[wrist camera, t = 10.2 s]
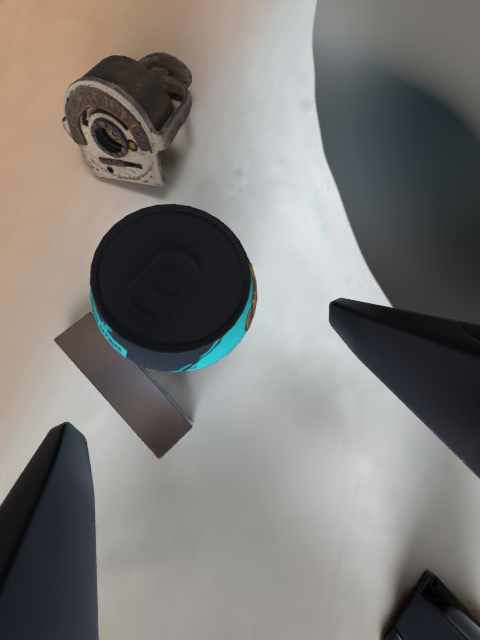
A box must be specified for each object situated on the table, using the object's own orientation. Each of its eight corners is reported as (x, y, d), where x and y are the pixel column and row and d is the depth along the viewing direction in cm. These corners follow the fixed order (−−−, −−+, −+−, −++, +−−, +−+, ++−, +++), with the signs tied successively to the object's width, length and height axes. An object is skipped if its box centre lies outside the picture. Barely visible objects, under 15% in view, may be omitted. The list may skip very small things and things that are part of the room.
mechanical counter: (-9, 73, 17) (100, 139, 15) (122, -46, 19) (235, -2, 17) (70, 164, 24) (152, 218, 22) (160, 70, 26) (243, 111, 24)
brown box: (193, 422, 20) (193, 427, 19) (162, 453, 19) (159, 460, 18) (97, 315, 20) (89, 311, 19) (63, 341, 20) (52, 339, 18)
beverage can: (247, 321, 22) (302, 268, 10) (192, 389, 20) (184, 416, 9) (182, 267, 22) (165, 154, 10) (121, 331, 20) (21, 281, 9)
